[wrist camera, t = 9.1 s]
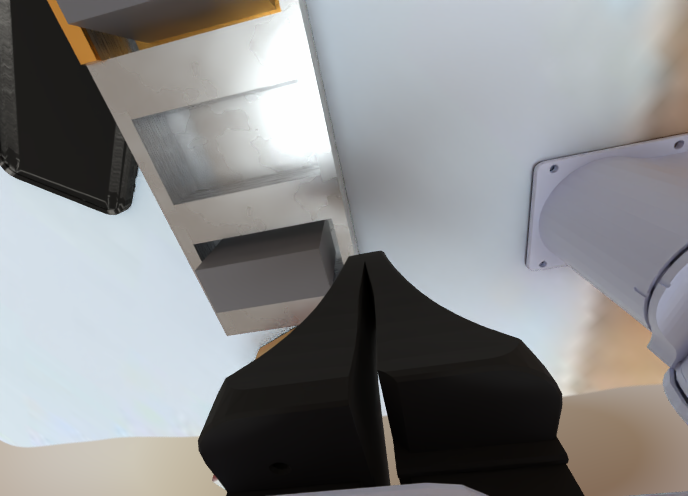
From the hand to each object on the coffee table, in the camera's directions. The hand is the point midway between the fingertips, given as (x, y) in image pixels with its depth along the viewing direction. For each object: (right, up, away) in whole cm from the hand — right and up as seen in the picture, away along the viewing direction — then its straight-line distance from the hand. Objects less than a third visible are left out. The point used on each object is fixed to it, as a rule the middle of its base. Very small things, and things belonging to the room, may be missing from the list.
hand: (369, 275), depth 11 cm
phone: (-16, +11, +6) cm, 21 cm away
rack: (-7, +8, +7) cm, 13 cm away
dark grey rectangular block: (-5, +1, +10) cm, 11 cm away
